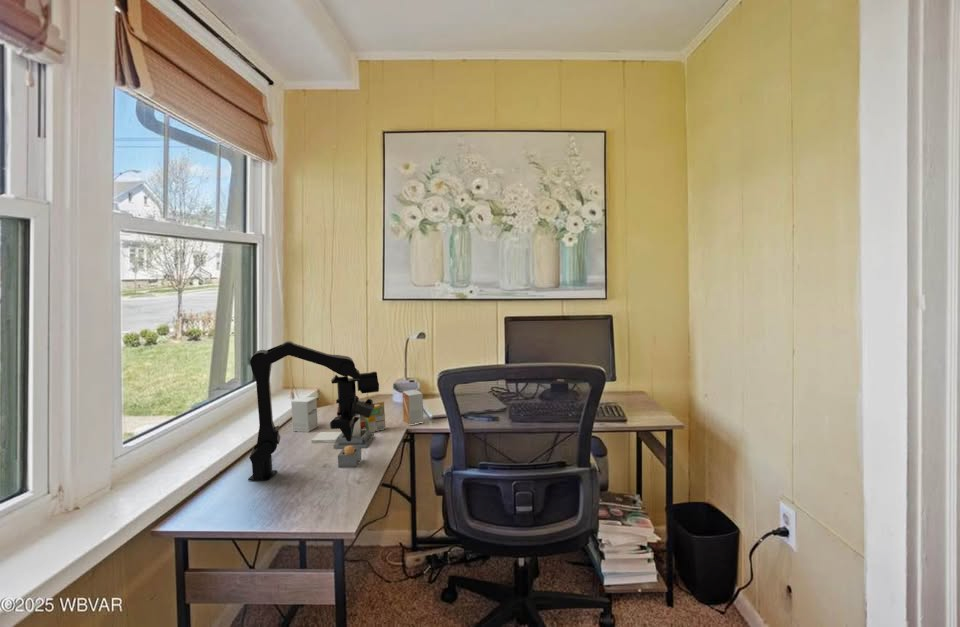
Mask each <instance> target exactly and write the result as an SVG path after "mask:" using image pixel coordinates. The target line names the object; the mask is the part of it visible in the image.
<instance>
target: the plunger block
mask: <svg viewBox="0 0 960 627" xmlns="http://www.w3.org/2000/svg"><path fill="white" fill-rule="evenodd" d="M354 452H355V453H354V454H345V452H344V448H342V449H341V450H340V452H339V454H337V467H338V468H357V467H358V466H359V464H360V463H361V462H362V448H354ZM359 462H360V463H359ZM357 465H358V466H357Z"/></svg>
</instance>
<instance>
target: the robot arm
mask: <svg viewBox="0 0 960 627" xmlns="http://www.w3.org/2000/svg"><path fill="white" fill-rule="evenodd" d="M288 356H290V357H293V358H296V359H300V360H303V361H307V362H309V363H313V364H316V365H319V366H322V367H326V368H327V369H329V370H331V371H332V372H334V373H336V374H335V375H334V377H333V378H331V384H336V385H337V387H336V388H337V399H336V404H337V405H338V406H339V411H338V412H337V411H336V416H335V417H334V418H333V419H332V420H331V421H330V422H329V428H330V430H335V429H336V430H337V429H338V430H340V432H342V433H343V435H344V436H345V438H346V440H347V441H351V439H352V434H353V429H354V425H355V423H356V422H357V421H358V420H359V418H360V417H355V415H356V414H359V415H362V416H364V417H366V418H369V417H370V416H371V415H372V412H373V409H374V406H375V405H374V404H375V403H374V402H373V399H370V398H368V399H366V400H365V401H364V400H360V398H359V396H358V395H357V392H360V393H361V394H370V393H371V394H372V393H379V392H380V383H379V379H378V372H377V371H370V372H364V373H363V372H361V373H360V371H359V369H358V368H356V365H355V362H354V360H353V358H351V357H350V356H346V355H340V354H331V353H330V354H329V353H325V352H323V351H319V350H317V349H313V348H310V347H307V346H303V345H301V344H297V343H294V342H293V341H291V340H290V341H289V340H287V341H285V342H283V343H281V344H279V345H277V346H274V347H271V348H269V349H260V350H257V351H255V353H254V354H253V355H252V356H251V358H250V360H249V364H250V367H251V368H250V369H251V371H252V375H253V377H254V380H255V384H256V396H257V411H258V420H259V423H258V424H259V426H258V433H257V440H256V444H255V445H254V446H253V447H252V448H251V449H252V450H251V452H250V455H249V460H250V462H251V469H252V471H251V472H252V475H250V477H248V479H247V481H248V480H255V481H269V480H270V479H271V478H273V477H274V475H275V474H277V473H278V470H274V469H273V459H272V457H273V456H272V454H273V453H274V452H276V450H277V447H278V445H279V444H280V441H281V435H280V425H276V426H275V423H274V419H273V404H272V393H271V373H272V372H271V371H272V368H273V363H276V362H278V361H280V360H282V359H284V358H286V357H288ZM339 375H340V376H339ZM356 386H357V387H356ZM356 388H357V390H356ZM356 391H357V392H356ZM338 415H341V416H338Z"/></svg>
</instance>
